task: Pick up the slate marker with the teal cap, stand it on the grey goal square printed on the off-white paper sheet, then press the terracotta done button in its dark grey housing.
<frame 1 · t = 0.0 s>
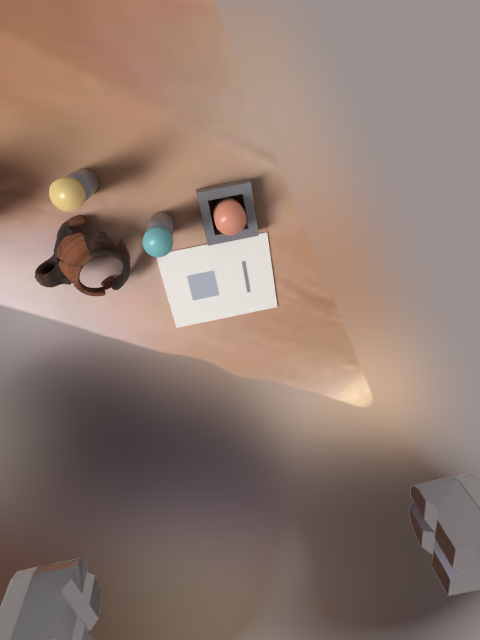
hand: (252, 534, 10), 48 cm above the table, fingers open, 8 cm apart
paper: (219, 281, 58), on the table
marker teal: (162, 223, 53), on the table
done button: (229, 216, 51), point 3 cm above the table, slide at 0.0 cm
marker ochre: (85, 182, 50), on the table
pottery mug: (87, 252, 54), on the table
button housing: (227, 210, 53), on the table
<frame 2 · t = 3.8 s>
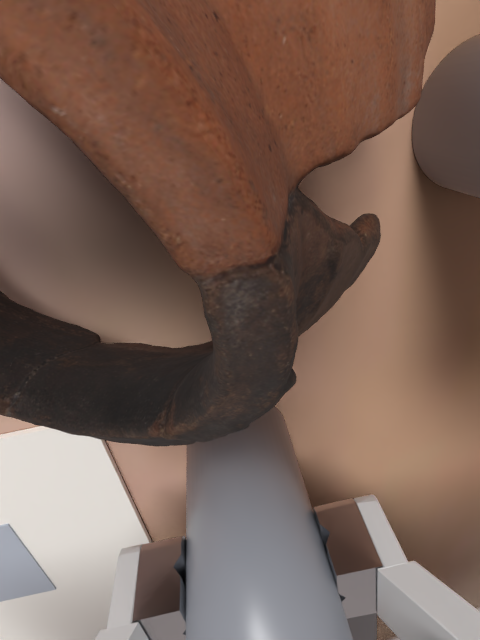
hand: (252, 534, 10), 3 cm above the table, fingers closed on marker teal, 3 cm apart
paper: (12, 600, 15), on the table
marker teal: (237, 435, 13), on the table, touching gripper
pottery mug: (104, 31, 8), on the table
button housing: (273, 585, 17), on the table
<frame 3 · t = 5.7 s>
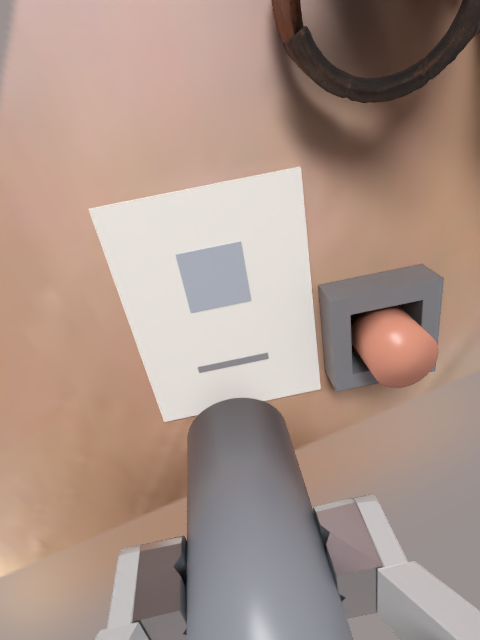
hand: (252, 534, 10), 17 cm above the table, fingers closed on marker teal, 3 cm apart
paper: (222, 311, 26), on the table
marker teal: (237, 437, 13), point 14 cm above the table, touching gripper
done button: (391, 344, 25), point 3 cm above the table, slide at 0.0 cm
button housing: (370, 320, 27), on the table
when the fingers open (4 cm above the table, at t = 7.8 s): marker teal stays where it is, resting on paper.
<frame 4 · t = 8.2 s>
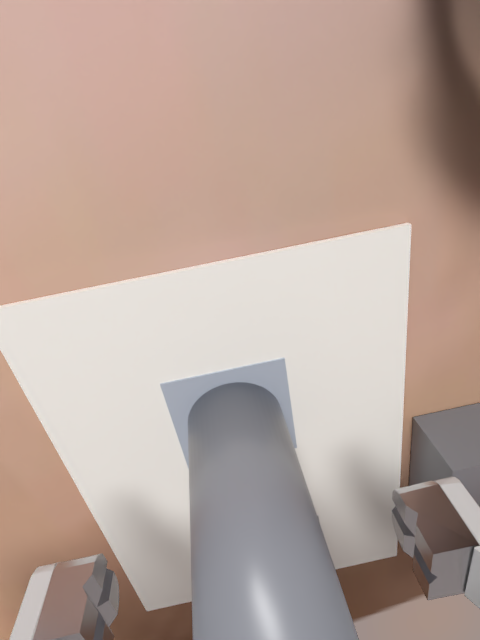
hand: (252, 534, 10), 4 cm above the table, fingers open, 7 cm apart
paper: (244, 463, 15), on the table
marker teal: (235, 420, 13), resting on paper
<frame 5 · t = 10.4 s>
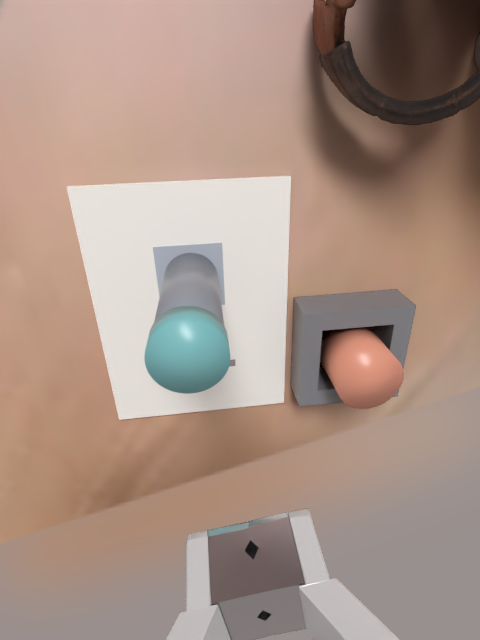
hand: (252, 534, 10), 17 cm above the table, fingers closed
paper: (194, 312, 25), on the table
marker teal: (191, 278, 24), resting on paper
done button: (358, 364, 25), point 3 cm above the table, slide at 0.0 cm
button housing: (341, 339, 27), on the table
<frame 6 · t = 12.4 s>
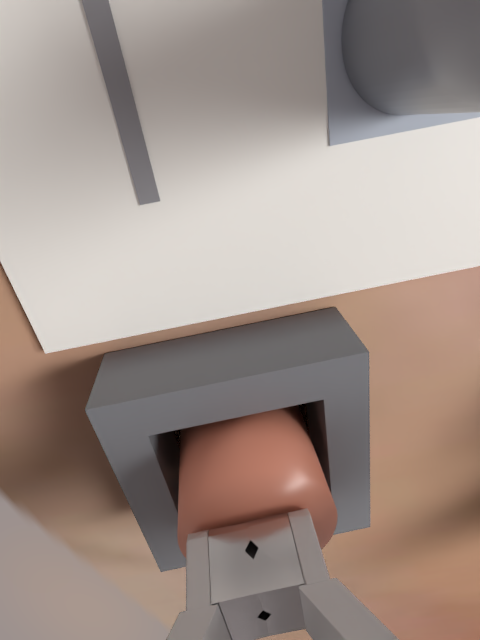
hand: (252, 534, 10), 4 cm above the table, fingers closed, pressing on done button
paper: (299, 51, 9), on the table
marker teal: (413, 31, 8), resting on paper
done button: (249, 472, 11), point 2 cm above the table, slide at 0.9 cm, touching gripper
button housing: (240, 417, 13), on the table
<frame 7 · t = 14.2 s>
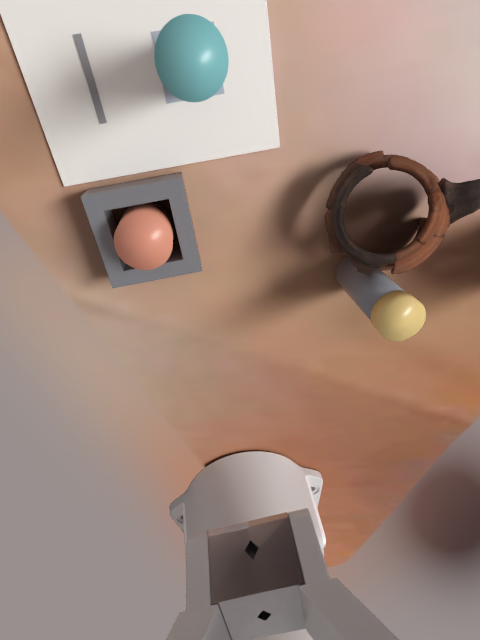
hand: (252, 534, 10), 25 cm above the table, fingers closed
paper: (151, 70, 26), on the table
marker teal: (188, 64, 26), resting on paper
done button: (145, 235, 29), point 2 cm above the table, slide at 0.9 cm
marker ochre: (352, 271, 35), on the table
pottery mug: (384, 205, 33), on the table
button housing: (147, 226, 31), on the table
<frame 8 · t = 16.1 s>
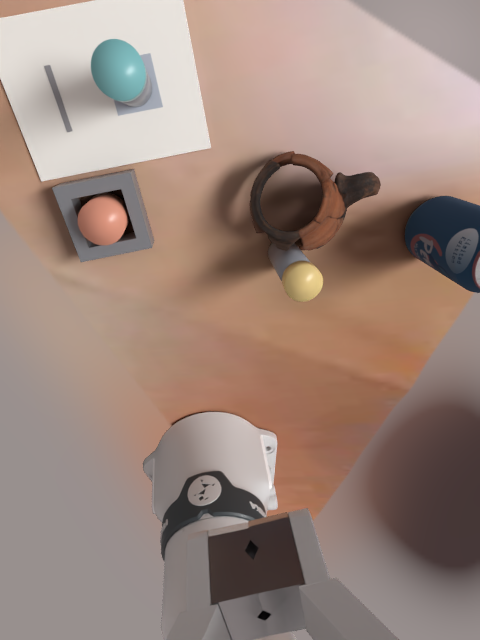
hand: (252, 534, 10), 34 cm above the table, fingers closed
paper: (105, 90, 34), on the table
marker teal: (133, 85, 33), resting on paper
done button: (105, 218, 36), point 2 cm above the table, slide at 0.9 cm
soda can: (428, 225, 43), on the table
marker ochre: (282, 252, 42), on the table
pottery mug: (304, 196, 40), on the table
button housing: (109, 213, 38), on the table
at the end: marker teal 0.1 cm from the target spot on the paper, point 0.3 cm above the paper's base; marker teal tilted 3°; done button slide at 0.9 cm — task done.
